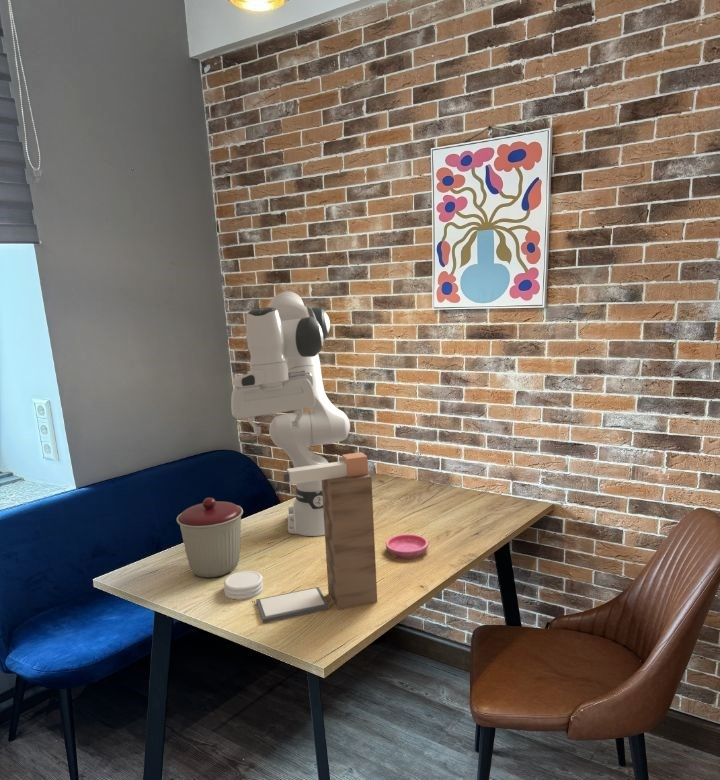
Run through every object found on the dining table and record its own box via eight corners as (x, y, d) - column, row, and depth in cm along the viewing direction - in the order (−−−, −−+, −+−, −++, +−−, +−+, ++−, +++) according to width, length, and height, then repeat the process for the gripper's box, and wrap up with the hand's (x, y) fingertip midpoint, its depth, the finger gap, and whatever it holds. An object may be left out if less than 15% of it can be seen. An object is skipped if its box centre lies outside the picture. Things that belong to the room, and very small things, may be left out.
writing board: (256, 603, 148) (256, 598, 148) (318, 590, 153) (318, 586, 153) (263, 623, 139) (262, 618, 139) (328, 608, 144) (328, 604, 143)
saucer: (406, 565, 165) (406, 555, 164) (377, 552, 174) (376, 542, 174) (437, 552, 173) (437, 541, 172) (407, 540, 182) (407, 530, 182)
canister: (259, 568, 168) (254, 496, 164) (201, 591, 156) (194, 515, 152) (227, 550, 181) (221, 483, 178) (171, 570, 169) (163, 499, 166)
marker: (282, 480, 141) (280, 463, 140) (362, 469, 147) (361, 452, 147) (285, 486, 137) (284, 467, 136) (368, 474, 143) (367, 456, 142)
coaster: (218, 590, 156) (217, 578, 156) (252, 578, 162) (251, 566, 161) (235, 605, 148) (233, 592, 148) (270, 591, 154) (269, 579, 153)
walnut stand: (328, 593, 151) (321, 472, 146) (365, 585, 154) (359, 466, 149) (338, 610, 143) (330, 482, 138) (377, 601, 146) (371, 476, 141)
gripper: (308, 369, 149) (314, 423, 151) (226, 380, 143) (234, 436, 144) (314, 370, 143) (321, 426, 145) (229, 381, 137) (237, 440, 138)
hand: (277, 431), depth 145 cm, fingers open, 8 cm apart
